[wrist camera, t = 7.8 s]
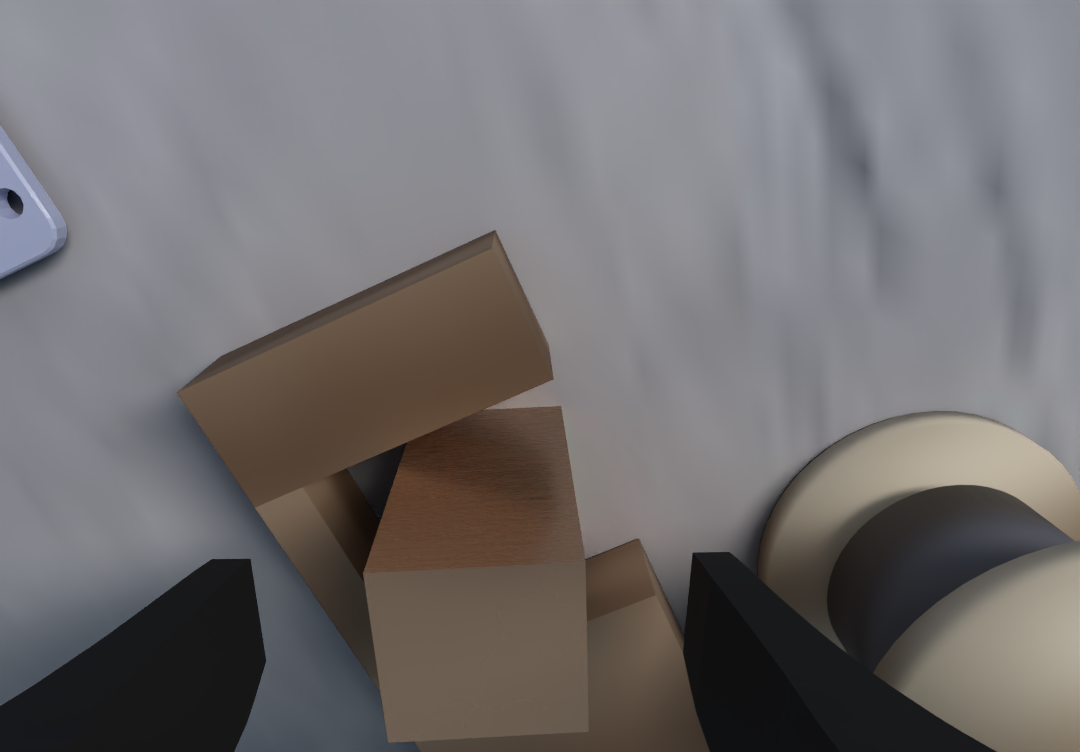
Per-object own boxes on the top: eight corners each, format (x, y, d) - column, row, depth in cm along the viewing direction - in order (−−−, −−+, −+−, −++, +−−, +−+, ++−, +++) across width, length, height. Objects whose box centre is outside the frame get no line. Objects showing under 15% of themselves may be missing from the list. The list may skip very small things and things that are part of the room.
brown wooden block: (429, 537, 16) (387, 743, 11) (416, 413, 15) (363, 573, 10) (565, 530, 16) (588, 731, 11) (561, 406, 15) (585, 562, 10)
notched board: (221, 355, 14) (176, 392, 12) (495, 230, 13) (492, 248, 12) (516, 815, 19) (517, 893, 17) (732, 738, 18) (757, 811, 16)
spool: (715, 486, 16) (815, 671, 10) (1032, 360, 15) (1313, 491, 10) (807, 711, 18) (927, 954, 13) (1086, 611, 17) (1336, 827, 12)
